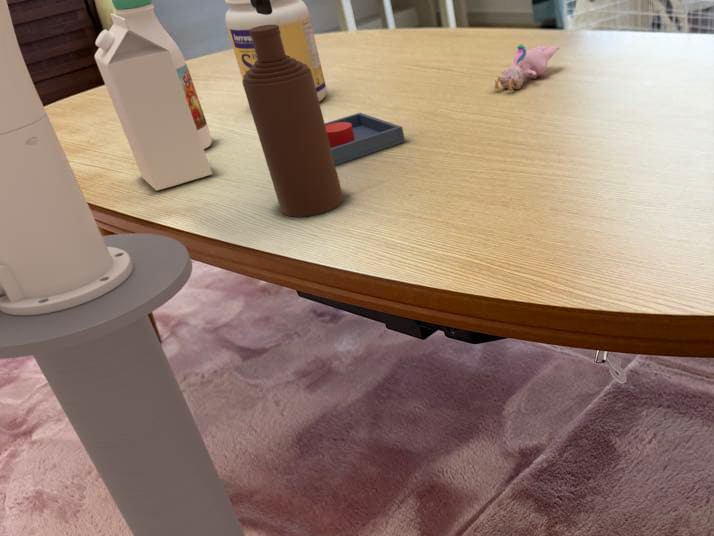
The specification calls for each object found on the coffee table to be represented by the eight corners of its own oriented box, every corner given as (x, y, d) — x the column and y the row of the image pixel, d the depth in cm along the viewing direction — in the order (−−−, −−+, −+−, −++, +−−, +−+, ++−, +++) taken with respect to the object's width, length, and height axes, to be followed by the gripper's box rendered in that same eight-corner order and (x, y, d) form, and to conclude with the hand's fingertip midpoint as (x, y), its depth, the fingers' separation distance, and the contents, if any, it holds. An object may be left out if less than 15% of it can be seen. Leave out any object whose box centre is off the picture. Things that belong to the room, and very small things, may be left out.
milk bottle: (169, 162, 108) (108, -1, 97) (148, 152, 113) (87, -5, 102) (222, 145, 112) (170, -13, 101) (200, 136, 117) (147, -16, 105)
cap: (349, 149, 104) (345, 131, 103) (320, 150, 105) (315, 132, 103) (359, 138, 107) (355, 121, 106) (331, 140, 108) (327, 122, 107)
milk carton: (196, 163, 107) (141, 7, 96) (213, 175, 102) (157, 13, 91) (142, 178, 104) (78, 19, 93) (157, 192, 99) (91, 26, 88)
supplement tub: (242, 118, 123) (204, -4, 113) (262, 95, 133) (229, -18, 123) (320, 110, 122) (289, -13, 112) (335, 88, 132) (308, -27, 122)
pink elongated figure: (522, 103, 120) (573, 59, 128) (514, 63, 115) (566, 20, 124) (489, 100, 123) (540, 57, 131) (479, 61, 118) (533, 19, 127)
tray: (315, 172, 100) (310, 156, 98) (277, 154, 107) (272, 139, 106) (405, 141, 106) (402, 126, 105) (363, 126, 113) (360, 112, 112)
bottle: (300, 222, 87) (247, 38, 76) (270, 207, 91) (215, 32, 80) (355, 200, 90) (311, 22, 79) (323, 187, 95) (278, 17, 84)
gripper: (195, -166, 79) (246, 22, 89) (350, -179, 88) (381, -5, 98) (170, -161, 84) (221, 17, 94) (318, -173, 93) (351, -8, 103)
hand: (302, 6), depth 96 cm, fingers open, 9 cm apart
